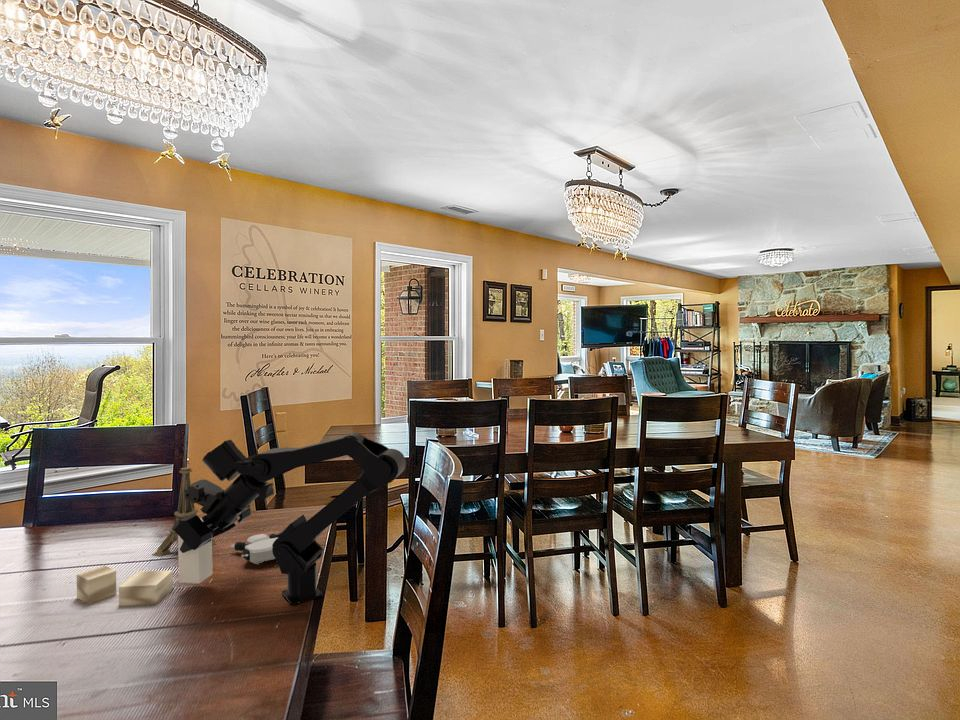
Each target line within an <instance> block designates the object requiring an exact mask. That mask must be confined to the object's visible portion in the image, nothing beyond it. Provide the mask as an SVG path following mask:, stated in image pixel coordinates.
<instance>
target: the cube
mask: <svg viewBox="0 0 960 720" xmlns="http://www.w3.org/2000/svg"><path fill="white" fill-rule="evenodd" d="M115 595H117V570H115V569H113V568H111V567H108V566H107V565H101V566H99V567H95V568H91V569H89V570H85V571H83V572H79V573H77V574H76V599H78V600H79V599H80V600H79V601H81V600H82V602H83V601H84V602H83V603H85V604H87V605H90V604H94V603H97V602H99V601H101V600H104V599H107V598H110V597H113V596H115Z"/></svg>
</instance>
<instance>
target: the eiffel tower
mask: <svg viewBox="0 0 960 720" xmlns="http://www.w3.org/2000/svg"><path fill="white" fill-rule="evenodd" d="M184 453H185V456H184V467H182V468H180V470H179V471H178V473H180V474H181V480H180V481H181V482H180V487H179V488H180V489H179V497H178V506H177V511H175V512H174V514H173V515H174V517H175V519H174V523H173V526H172V528H171V529H169V534H168V535H167V537H165V538H164V540H163V541H162V543H161V544H160V545H159V547H158V548H157V549H156V551H155V552H153V553H152V554H151V556H155V557H163V556H165V555H168V554H170V553H171V550H170V548H171V547H172V546H173V544H174V543H175V542H176V541H178V534H177V533H176V532H175V531H174V526H175V525H176V524H177V523H178V522H179V521H180V520H182V519H184V518H186V517H188V516H190V515H197V514H198V512H199V510H198V508H195V504H194V503H192V502H190V501H188V500H186V499H185V493H184V491H185V490H187V489H188V487H189V486H190V485H191V484H192V482H191V477H190V473H192V472H193V470H192V468H191V467H188V466H187V455H186V454H187V452H186V451H185V452H184ZM217 544H218V543H216V541H215V540H214V539H213V538H212V547H213V546H215V545H217ZM175 560H176V561H178V556H177V557H176V558H175Z"/></svg>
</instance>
